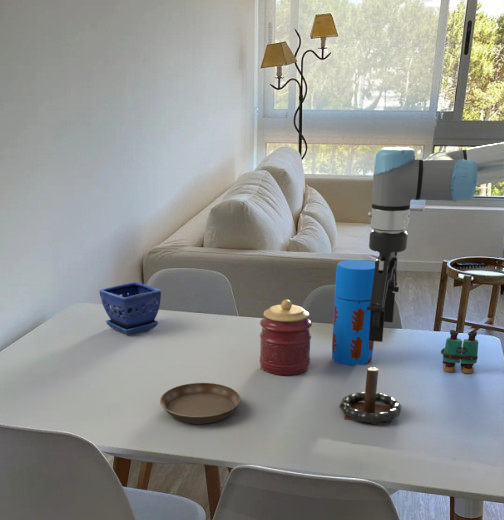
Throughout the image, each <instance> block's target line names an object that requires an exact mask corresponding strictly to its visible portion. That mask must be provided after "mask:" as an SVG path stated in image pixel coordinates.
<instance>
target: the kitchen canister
mask: <svg viewBox="0 0 504 520" xmlns="http://www.w3.org/2000/svg"><path fill="white" fill-rule="evenodd" d="M263 316H264V317H263V318H262V319H261V320H260V321H259V325H260V326H261V332H260V333H259V338H260V351H259V353H260V355H259V364H260V368H261V369H262V370H263V371H265V372H267V373H269V374H273V375H280V376H291V375H292V376H293V375H299V374H302V373H304V372H306V371H308V370H309V368H310V364H311V339H312V334H311V331H310V328H311V327H312V325H313V323H312V321H311V319H309V316H310V313H309V311H307V310H305V309H304V308H303V307H302V306H299V305H297V304H292V301H291V300H289V299H284V300H282V301H281V303H280V304H275V305H272V306H270V307H269V308H267V309H266V310H264V312H263Z"/></svg>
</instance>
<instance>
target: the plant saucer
mask: <svg viewBox="0 0 504 520" xmlns="http://www.w3.org/2000/svg"><path fill="white" fill-rule="evenodd" d="M240 402H241V396H240V394H239V393H238V391H237V390H235V389H234V388H231V387H230V386H227V385H225V384H224V385H223V384H219V383H212V382H194V383H186V384H181V385H177V386H175V387H172V388H170V389H168V390H166V391H164V393H163V394H162V395H161V397H160V398H159V403H160V406H161V407H162V408H163V410H164V411H165V412H166V413H167V414H168V415H169V416H171V417H172V418H173V419H175V420H177V421H179V422H182V423H188V424H196V425H198V424H199V425H202V424H211V423H216V422H219V421H222V420H224V419H225V418H227V417H229V416H230V415H231V414H233V412H234V411H235V410H236V409H237V408H238V406H239V404H240Z"/></svg>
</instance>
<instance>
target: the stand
mask: <svg viewBox="0 0 504 520" xmlns="http://www.w3.org/2000/svg"><path fill="white" fill-rule="evenodd" d="M378 379H379V368H378V367H374V366H370V367H369V366H368V367H367V368H366V377H365V389H364V392H365V399H364V401H360V402H355V403H352V404H350V407H351V408H353V409H355V410H358V411H361V412H367V413H383V412H387V411H389V410H391V408H390V407H389V406H388V405H385V404H377V402H376V393H378V392H377V391H378ZM343 419H344V420H345V421H353V422H359V423H363V422H362V421H358V420H355V419H353V418H350V417H348V416H346V415H345V414H344V417H343ZM364 423H366V424H371V425H372V424H373V425H379V426H387V425H388V423H389V421H387V422H378V423H371V422H364Z"/></svg>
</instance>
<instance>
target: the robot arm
mask: <svg viewBox="0 0 504 520" xmlns="http://www.w3.org/2000/svg"><path fill="white" fill-rule="evenodd" d="M415 154H416V153H415V150H414V149H413V148H410V147H394V146H393V147H382V148H380V149H378V150H377V152H376V153H375V158H374V166H373V168H374V169H373V178H372V195H371V199H372V200H371V211H369V212H368V214H367V215H368V217H370V218H371V219H370V228H371V230H370V231H369V239H368V240H369V242H368V249H370V250H371V251H372V252H377V253H378V254H379V255H378V257H377V259H375V261H374V262H375V272H374V279H373V286H372V293H371V300H370V306H367V310H370V311H371V315H370V330H369V341H374V342H380V343H383V341H384V340H383V338H384V327H385V323H393V322H394V310H395V299H396V293H399V292H400V286H398V260H399V259H398V253H402V252H404V251H406V249H407V246H408V236H409V235H408V234H409V233H408V232H407V230H408V229H409V228H410V227H409V225H410V215H411V201H413V200H414V201H420V200H421V201H445V202H446V201H447V202H448V201H449V202H453V203H457V202H462V201H464V202H466V201H470V200H472V199H473V198H474V196H475V193H476V188H477V186H479V185H485V184H491V183H498V182H499V183H500V182H504V141H503V142H498V143H492V144H486V145H479V146H475V147H468V148H464V149H459V150H453V151H437V152H434V153H432V154H430V155H429V156H428V157H427V158H426V159H422V158H421V159H419V158H416V155H415ZM376 303H377V304H376Z"/></svg>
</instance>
